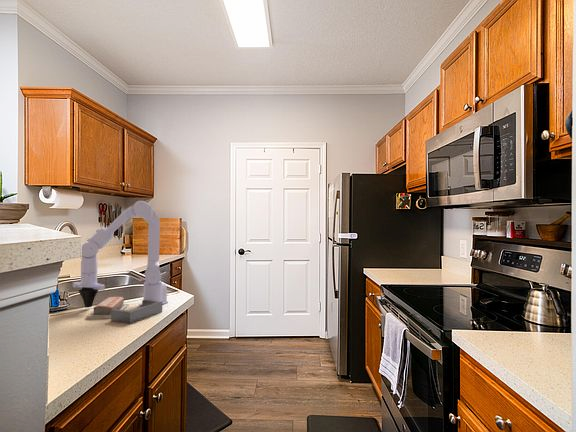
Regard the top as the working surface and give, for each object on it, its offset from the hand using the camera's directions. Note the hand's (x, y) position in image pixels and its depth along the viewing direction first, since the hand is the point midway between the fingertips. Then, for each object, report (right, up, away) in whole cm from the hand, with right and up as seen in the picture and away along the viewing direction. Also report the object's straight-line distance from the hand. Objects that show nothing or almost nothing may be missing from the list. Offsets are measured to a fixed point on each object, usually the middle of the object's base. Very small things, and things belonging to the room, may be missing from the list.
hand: (88, 306), depth 142 cm
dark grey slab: (+22, -1, -8) cm, 24 cm away
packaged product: (+10, -2, -3) cm, 10 cm away
